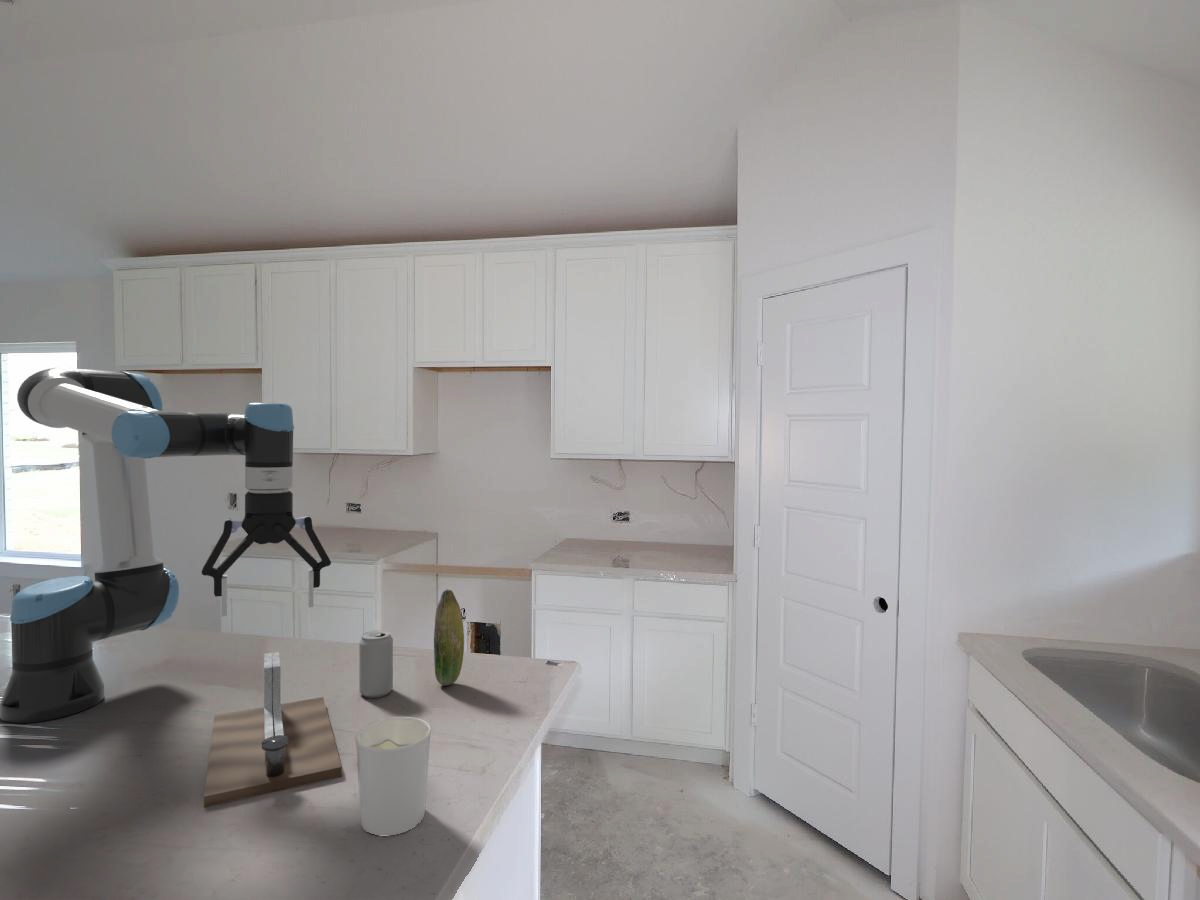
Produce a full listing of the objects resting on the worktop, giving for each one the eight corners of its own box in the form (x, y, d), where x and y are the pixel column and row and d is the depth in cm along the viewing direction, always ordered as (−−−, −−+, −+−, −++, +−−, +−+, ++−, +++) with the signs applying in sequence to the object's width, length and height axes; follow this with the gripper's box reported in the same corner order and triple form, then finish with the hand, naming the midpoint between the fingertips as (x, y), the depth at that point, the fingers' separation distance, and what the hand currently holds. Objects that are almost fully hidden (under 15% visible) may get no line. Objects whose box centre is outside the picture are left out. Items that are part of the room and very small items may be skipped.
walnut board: (214, 723, 117) (214, 715, 117) (323, 704, 125) (323, 697, 125) (204, 807, 91) (203, 796, 91) (341, 776, 100) (341, 766, 100)
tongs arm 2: (284, 762, 100) (284, 697, 100) (275, 764, 99) (275, 699, 99) (278, 705, 120) (278, 651, 120) (271, 706, 120) (271, 652, 119)
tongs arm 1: (273, 764, 99) (273, 699, 99) (265, 766, 99) (265, 701, 98) (271, 706, 120) (271, 652, 119) (264, 707, 119) (264, 653, 119)
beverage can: (382, 700, 127) (382, 640, 127) (352, 697, 129) (352, 637, 128) (398, 688, 134) (398, 630, 133) (370, 685, 135) (370, 628, 135)
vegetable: (467, 681, 138) (468, 587, 137) (458, 692, 132) (459, 594, 131) (439, 679, 139) (440, 586, 138) (429, 691, 132) (430, 593, 132)
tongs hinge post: (289, 775, 97) (289, 742, 97) (261, 781, 95) (261, 748, 95) (287, 764, 100) (287, 732, 100) (261, 770, 98) (261, 737, 98)
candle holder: (366, 799, 94) (366, 717, 93) (435, 797, 94) (436, 715, 94) (345, 842, 84) (345, 750, 84) (423, 839, 85) (423, 748, 84)
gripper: (183, 494, 106) (183, 624, 106) (347, 490, 117) (346, 607, 118) (187, 490, 112) (187, 612, 113) (342, 487, 124) (341, 597, 125)
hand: (268, 610), depth 116 cm, fingers open, 13 cm apart
